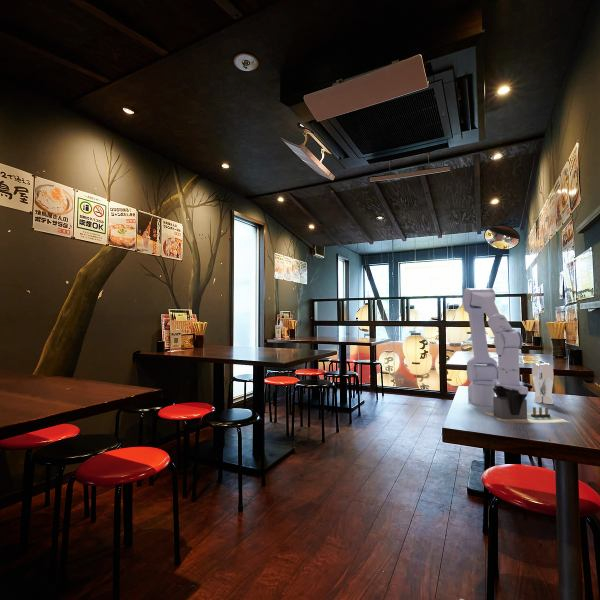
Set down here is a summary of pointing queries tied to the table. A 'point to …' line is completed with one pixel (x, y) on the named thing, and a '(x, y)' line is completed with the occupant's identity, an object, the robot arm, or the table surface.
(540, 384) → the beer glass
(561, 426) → the table surface
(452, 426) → the table surface
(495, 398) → the connector cap
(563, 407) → the table surface
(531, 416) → the header board
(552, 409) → the table surface
